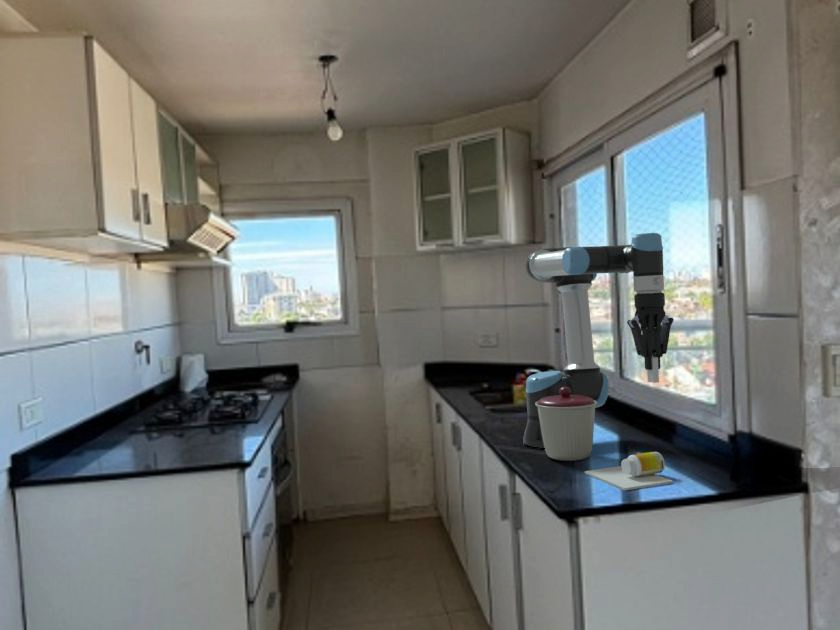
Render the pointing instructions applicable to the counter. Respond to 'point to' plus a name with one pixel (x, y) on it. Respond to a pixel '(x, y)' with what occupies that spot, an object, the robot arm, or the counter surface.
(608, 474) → the mat
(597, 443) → the counter surface
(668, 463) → the counter surface
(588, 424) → the canister
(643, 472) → the supplement bottle
